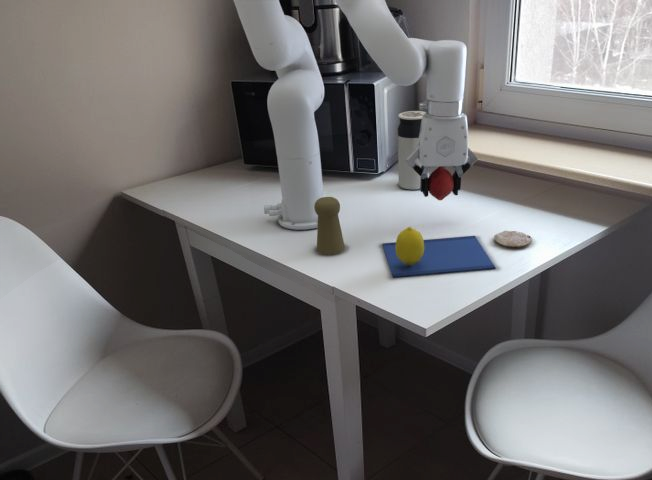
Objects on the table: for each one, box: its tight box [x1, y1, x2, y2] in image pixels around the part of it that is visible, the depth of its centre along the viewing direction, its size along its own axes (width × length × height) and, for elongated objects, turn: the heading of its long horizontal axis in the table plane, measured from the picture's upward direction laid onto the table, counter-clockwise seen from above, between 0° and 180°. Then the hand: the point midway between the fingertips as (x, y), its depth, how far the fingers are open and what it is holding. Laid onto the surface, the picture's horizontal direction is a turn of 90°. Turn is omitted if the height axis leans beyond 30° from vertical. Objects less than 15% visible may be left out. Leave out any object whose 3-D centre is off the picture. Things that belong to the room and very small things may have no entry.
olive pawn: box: [314, 196, 346, 256], centre depth 128 cm, size 6×6×11 cm
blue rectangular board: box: [382, 235, 496, 279], centre depth 125 cm, size 20×16×1 cm
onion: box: [428, 166, 454, 201], centre depth 135 cm, size 6×6×8 cm
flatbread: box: [493, 230, 533, 248], centre depth 130 cm, size 8×8×1 cm
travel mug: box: [397, 110, 430, 191], centre depth 158 cm, size 8×8×18 cm
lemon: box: [395, 226, 424, 266], centre depth 119 cm, size 6×6×8 cm
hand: (440, 193), depth 136 cm, fingers closed on onion, 5 cm apart
